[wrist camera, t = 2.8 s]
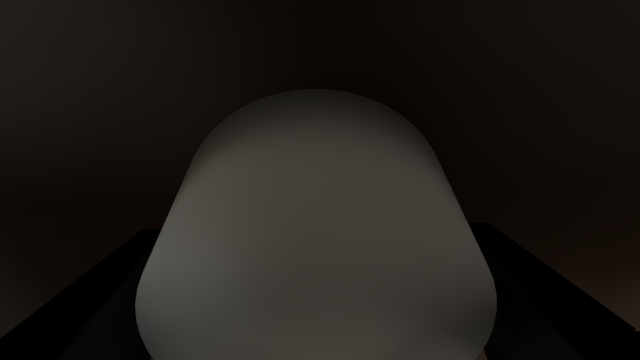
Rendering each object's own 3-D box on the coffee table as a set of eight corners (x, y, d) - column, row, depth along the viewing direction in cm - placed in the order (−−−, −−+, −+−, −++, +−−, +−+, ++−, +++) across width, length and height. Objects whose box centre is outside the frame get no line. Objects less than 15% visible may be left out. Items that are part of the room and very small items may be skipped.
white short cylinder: (207, 297, 12) (174, 428, 9) (161, 89, 9) (86, 190, 6) (426, 292, 12) (464, 421, 9) (463, 83, 9) (539, 180, 6)
